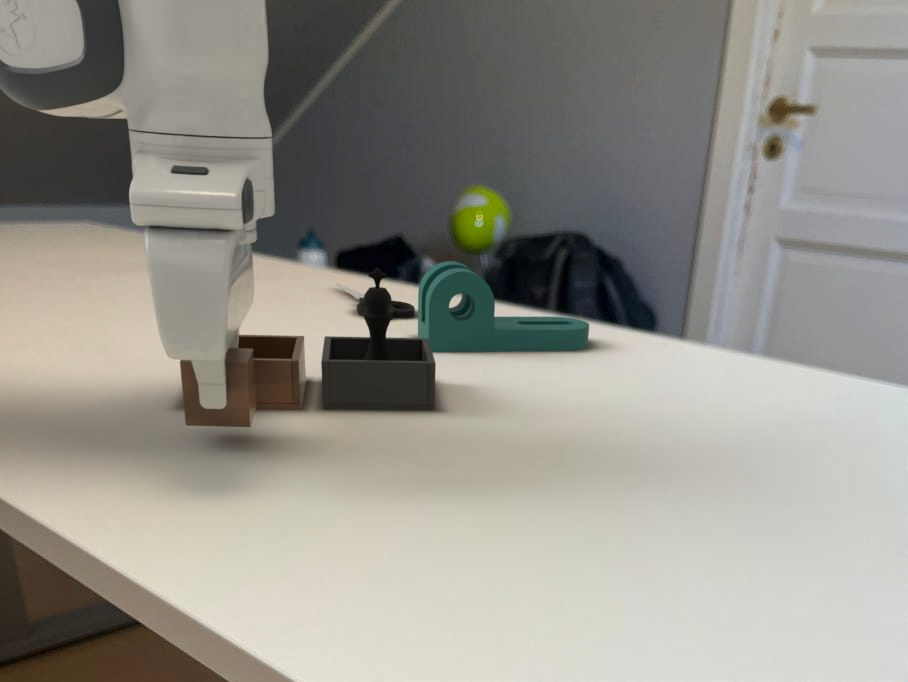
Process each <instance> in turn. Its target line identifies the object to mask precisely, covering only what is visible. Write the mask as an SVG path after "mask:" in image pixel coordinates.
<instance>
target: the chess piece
mask: <svg viewBox="0 0 908 682" xmlns="http://www.w3.org/2000/svg"><path fill="white" fill-rule="evenodd" d="M367 275H368V277H369V278H371V279H373V281H374V285H375V286H372V287H371V286H370V287H368V289H367V290H366V291H365V293H364V294H363V295H364V303H365V305H366V308H367V311H366V313H364V316H363V318H364V319H363V320H364V321H365V323H366V327H367V328H368V332H369V337H370V344H369V349H368V352H367V354H366V356H365V359H364V360H386V361H392V359H391V357H390V355H389V352H388V349H387V345H386V337H387V332H388V331H387V330H388V328H389V326H390V323H391V320H392V319H393V318H392V315H391V314H390V313H389V306H390V304H391V300H392V295H391V293H390V292H389V291H388V289H387V287H381V282H382V280H383V279H386V278H388V275H387V273H384V272H382V271H381V269H380V267H375V269H374V270H373V271H372V272H371V271H370V272H369V273H368V274H367Z"/></svg>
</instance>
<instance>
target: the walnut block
mask: <svg viewBox="0 0 908 682" xmlns="http://www.w3.org/2000/svg"><path fill="white" fill-rule="evenodd" d="M225 368H226V379H227V381H228V397H229V399H228V402H227V404H226V406H225V407H224V408H223V409H205V408H204V407H202V406H201V404H200V400H199V388H198V382H197V379H196V375H195V372H194V369H193V365H192V362H191V360H179V369H180V378H181V389H182V400H183V411H184V412H183V413H184V422H185V426H186V427H187V426H191V427H192V426H193V427H226V428H227V427H233V428H235V427H236V428H251V426H252V423H253V420H254V417H255V416H256V412H257V409H256V391H255V373H254V354H253V349H245V348H229V349H228V350H227V352H226V358H225Z"/></svg>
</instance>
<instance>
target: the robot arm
mask: <svg viewBox="0 0 908 682" xmlns="http://www.w3.org/2000/svg"><path fill="white" fill-rule="evenodd" d="M268 33H269V31H268V18H267V5H266V0H0V90H1V91H2V92H3V93H4V94H5V95H6V96H7V97H8V98H10V100H12V101H14V102H16V103H17V104H19V105H21V106H22V107H25V108H26V109H30V110H35V111H37V112H40V113H43V114H46V115H52V116H56V117H64V118H65V117H66V118H67V117H68V118H69V117H70V118H87V119H102V120H104V119H109V120H111V119H113V120H114V119H117V120H118V119H119V120H126V121H127V128H128V139H129V147H130V155H131V157H130V158H131V172H132V179H131V182H130V184H129V190H128V198H129V199H128V201H129V209H130V210H129V211H130V217H131V221H132V223H133V224H134V225H136V226H143V227H145V229H144V231H143V232H144V233H143V242H144V254H145V259H146V268H147V273H148V279H149V285H150V292H151V298H152V302H153V303H152V304H153V309H154V315H155V319H156V325H157V330H158V335H159V338H160V342H161V344H162V347H163V350H164V352H165V353H166V355H167V357H168V358H170V359H172V360H179V361H181V360H191V362H192V365H193V369H194V372H195V375H196V379H197V382H198V388H199V400H200V404H201V406H202V407H204V408H205V409H223V408H224V407H225V406H226V404H227V402H228V399H229V397H228V381H227V379H226V368H225V358H226V352H227V350H228V349H229V348H238V344H239V335H240V328H241V326H242V324H243V322H244V320H245V319H246V317H247V315H248V313H249V311H250V309H251V307H252V306H253V303H254V300H255V276H254V261H253V260H254V257H253V245H252V243H253V244H254V243H255V242H256V241H257V240H258V229H257V221H258V220H259V219H264V218H269V217H273V216H274V215H275V213H276V201H275V199H276V197H275V177H274V152H273V138H272V137H273V132H272V126H271V122H270V119H269V116H268V113H267V109H266V103H265V81H266V75H267V70H268V66H269V59H270V58H269V56H270V55H269V35H268Z"/></svg>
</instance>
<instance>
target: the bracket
mask: <svg viewBox="0 0 908 682" xmlns="http://www.w3.org/2000/svg"><path fill="white" fill-rule="evenodd" d="M421 278H422V279H421V280H420V283H419V286H418V293H417V338H428V339H429V343H430V346H431V349H432V353H473V352H474V353H477V352H478V353H482V352H483V353H484V352H486V353H490V352H492V353H494V352H498V353H499V352H500V353H501V352H507V353H508V352H575V351H576V352H577V351H580V350H581V351H582V350H584V349H586V348H588V344H589V333H590V323H589V322H587V321H585V320H582V319H577V318H574V317H573V318H572V317H567V316H566V317H564V316H495V310H496V309H495V308H496V306H495V305H496V303H495V302H496V301H495V297H494V293H493V291H492V288H491V287H490V285H489V284H488V283H487V281H486V280H484V278H482V277H481V275H478V274H477V273H476V272H474V270H472V269H471V268H470V267H468V266H467V265H465V264H464V263H461V262H458V261H455V260H449V261H448V260H447V261H442V262H439V263H436V264H435V265H433V266H432V267H431V268H429V269H428V270H427V271H426V272H425V274H424V275H423V276H422V277H421ZM459 294H461V298H460V301H459V302H458V303H457V304H456V305H455V306H453V307H450V304H451V301H452V299H453V298H454V297H455V296H456V295H459Z"/></svg>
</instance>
